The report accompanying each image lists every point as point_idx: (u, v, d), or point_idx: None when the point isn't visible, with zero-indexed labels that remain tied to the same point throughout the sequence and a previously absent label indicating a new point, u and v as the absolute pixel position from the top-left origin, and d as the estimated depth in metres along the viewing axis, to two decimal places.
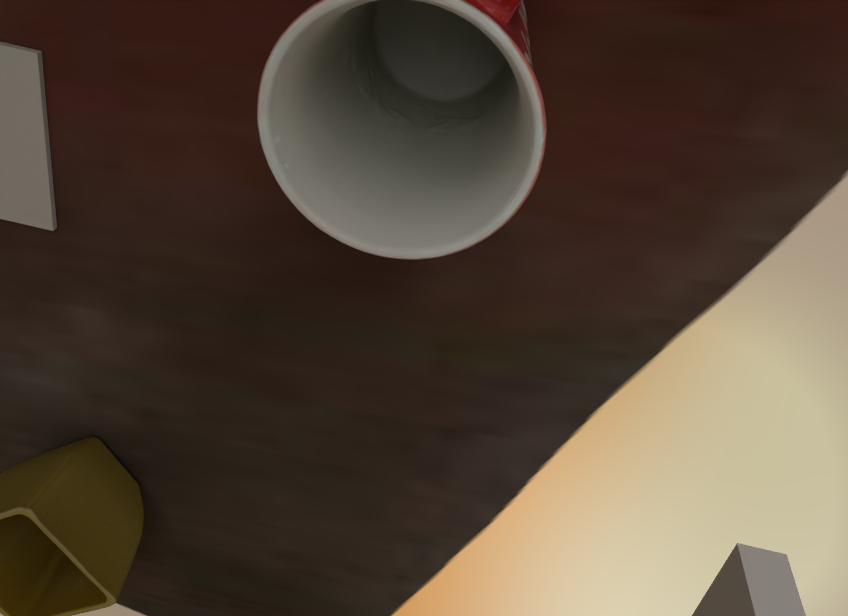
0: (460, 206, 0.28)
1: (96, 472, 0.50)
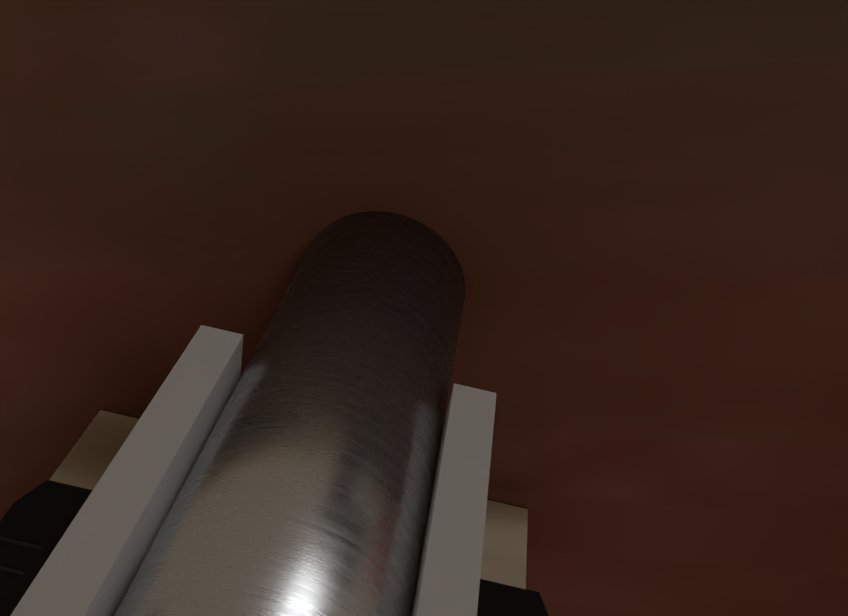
0: None
1: None
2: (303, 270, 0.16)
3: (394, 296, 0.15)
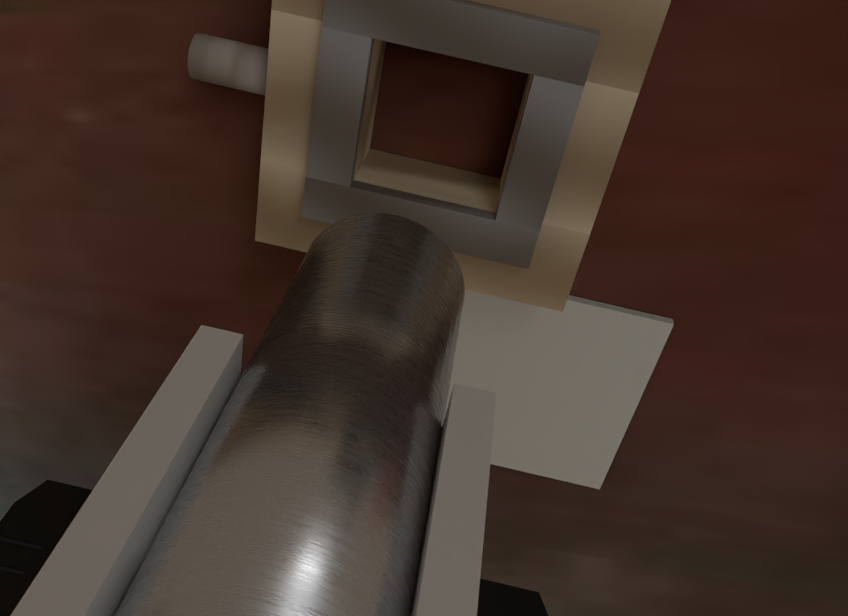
0: None
1: None
2: (303, 271, 0.16)
3: (394, 297, 0.15)
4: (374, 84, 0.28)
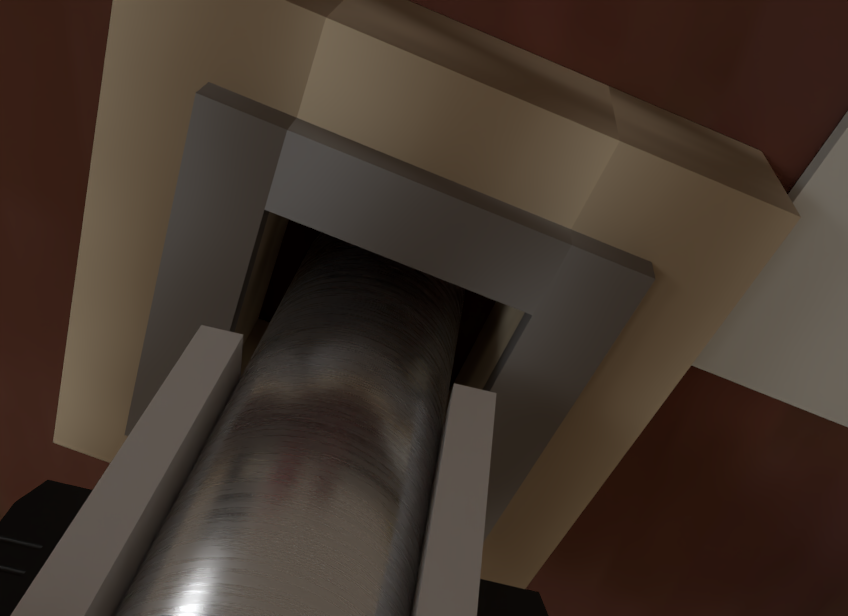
0: None
1: None
2: (303, 271, 0.16)
3: (394, 297, 0.15)
4: None
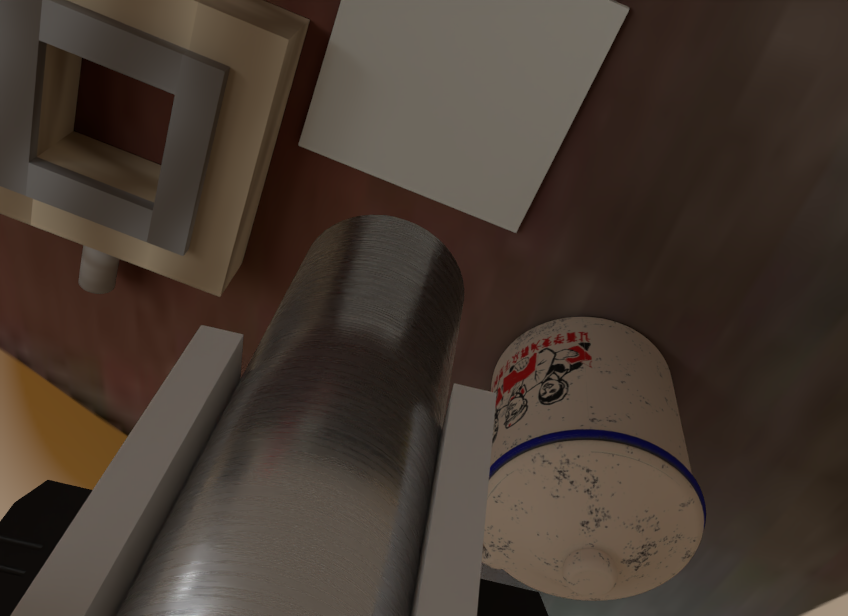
0: None
1: None
2: (302, 274, 0.16)
3: (393, 300, 0.15)
4: (106, 162, 0.34)
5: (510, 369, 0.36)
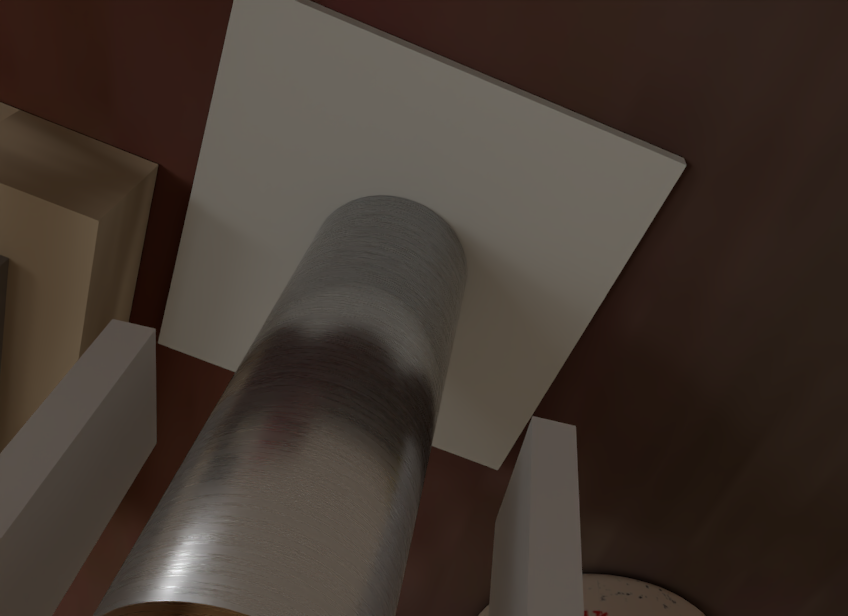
0: None
1: None
2: (312, 249, 0.17)
3: (397, 272, 0.15)
4: None
5: None
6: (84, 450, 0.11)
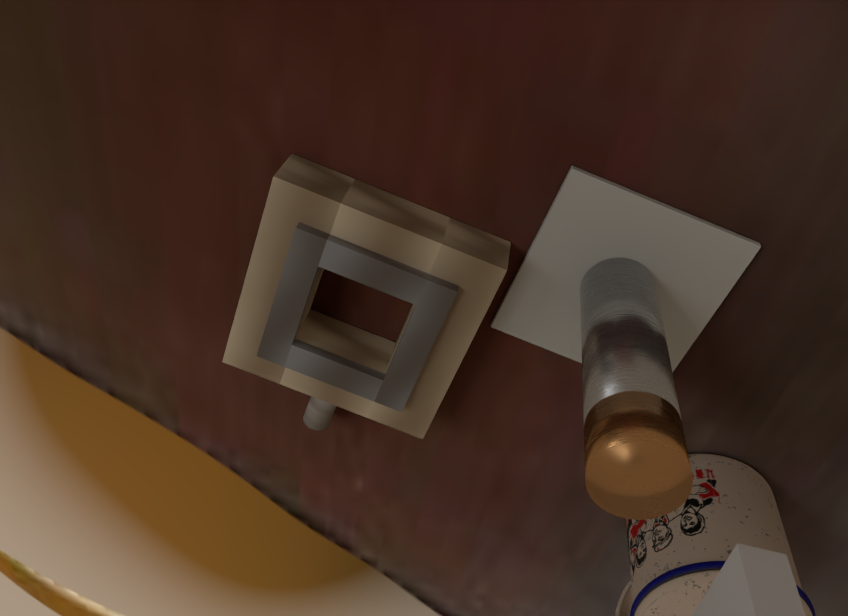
0: None
1: None
2: (596, 282, 0.38)
3: (643, 292, 0.37)
4: (340, 337, 0.44)
5: None
6: None
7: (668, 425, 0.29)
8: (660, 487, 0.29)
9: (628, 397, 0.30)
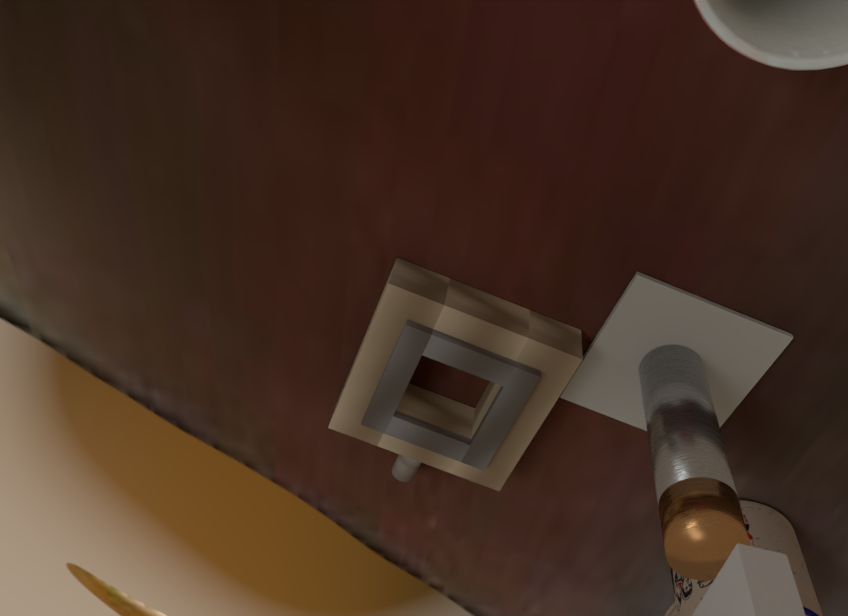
0: None
1: None
2: (656, 368, 0.46)
3: (697, 380, 0.44)
4: (430, 406, 0.51)
5: None
6: None
7: (731, 508, 0.37)
8: (725, 557, 0.36)
9: (697, 482, 0.38)
